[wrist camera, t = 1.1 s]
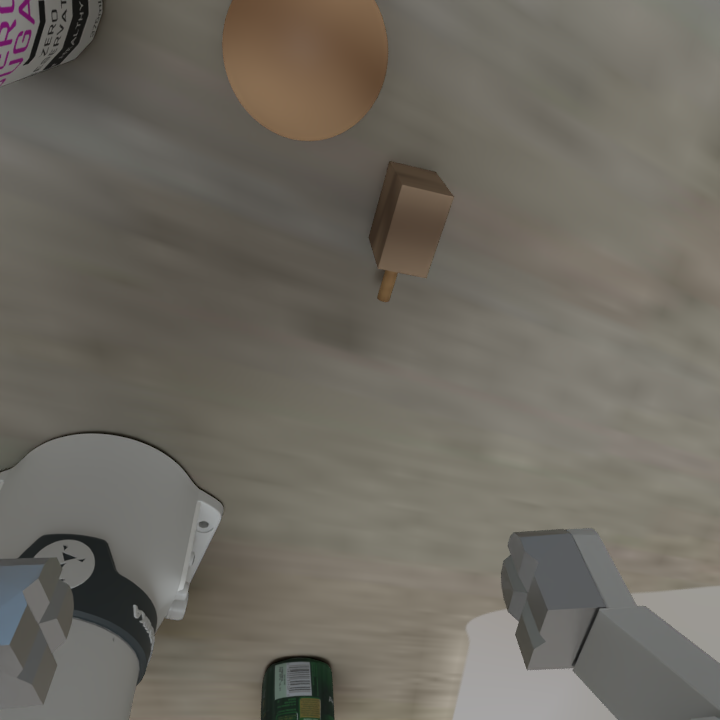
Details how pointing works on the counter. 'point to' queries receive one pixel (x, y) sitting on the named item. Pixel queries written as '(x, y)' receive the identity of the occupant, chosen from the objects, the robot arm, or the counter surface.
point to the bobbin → (305, 63)
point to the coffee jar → (297, 691)
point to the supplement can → (43, 34)
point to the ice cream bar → (408, 223)
